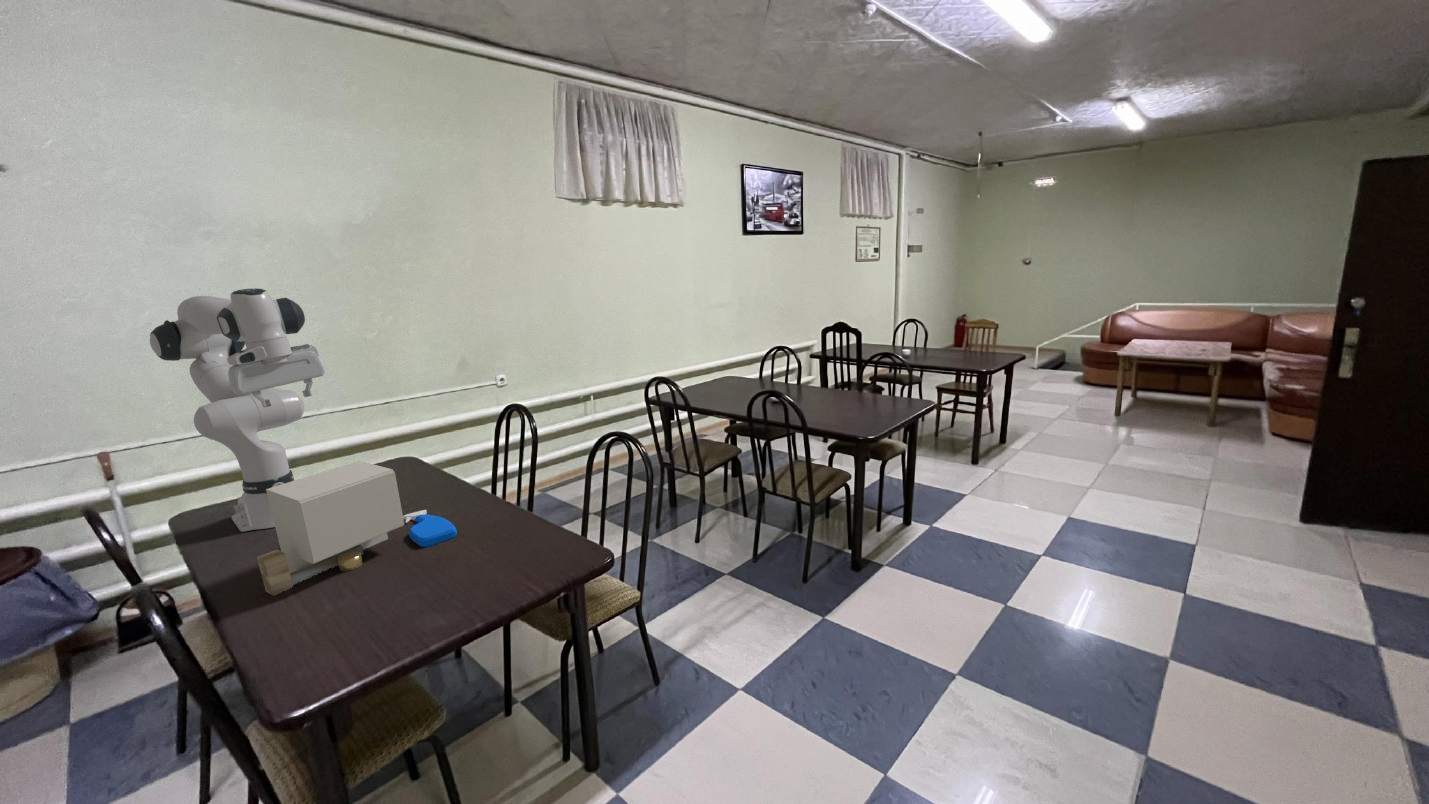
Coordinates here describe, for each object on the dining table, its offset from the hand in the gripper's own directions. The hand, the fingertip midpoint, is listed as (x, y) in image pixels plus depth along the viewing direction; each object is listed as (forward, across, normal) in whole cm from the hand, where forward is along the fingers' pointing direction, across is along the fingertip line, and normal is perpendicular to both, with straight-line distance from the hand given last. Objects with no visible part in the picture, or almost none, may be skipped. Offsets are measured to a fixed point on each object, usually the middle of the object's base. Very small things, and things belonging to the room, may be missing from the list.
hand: (288, 401), depth 151 cm
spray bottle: (+43, -16, +20) cm, 50 cm away
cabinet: (+41, +4, +19) cm, 45 cm away
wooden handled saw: (+40, +11, +20) cm, 47 cm away
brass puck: (+41, +6, +24) cm, 48 cm away
